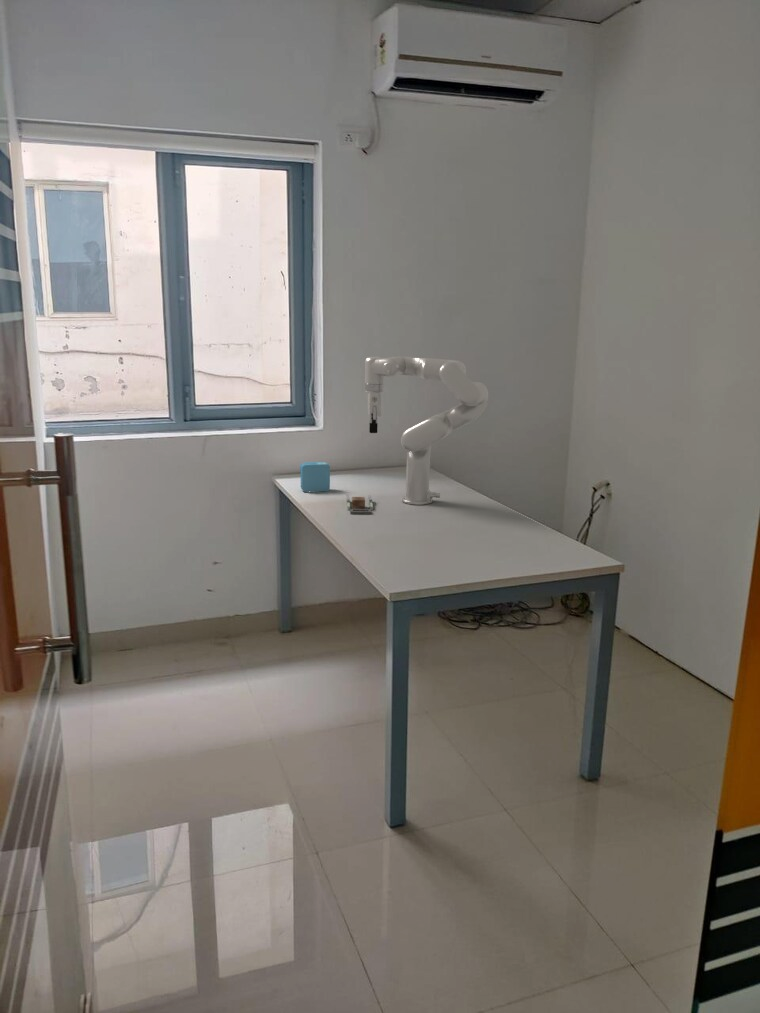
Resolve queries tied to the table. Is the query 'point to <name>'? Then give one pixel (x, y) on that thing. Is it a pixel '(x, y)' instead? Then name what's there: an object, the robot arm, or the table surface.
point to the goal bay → (349, 506)
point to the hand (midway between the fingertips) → (373, 432)
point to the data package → (315, 476)
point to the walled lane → (369, 499)
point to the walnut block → (358, 502)
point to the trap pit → (360, 511)
